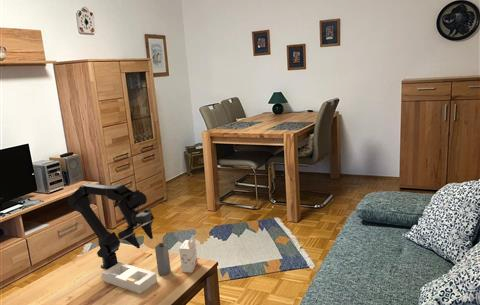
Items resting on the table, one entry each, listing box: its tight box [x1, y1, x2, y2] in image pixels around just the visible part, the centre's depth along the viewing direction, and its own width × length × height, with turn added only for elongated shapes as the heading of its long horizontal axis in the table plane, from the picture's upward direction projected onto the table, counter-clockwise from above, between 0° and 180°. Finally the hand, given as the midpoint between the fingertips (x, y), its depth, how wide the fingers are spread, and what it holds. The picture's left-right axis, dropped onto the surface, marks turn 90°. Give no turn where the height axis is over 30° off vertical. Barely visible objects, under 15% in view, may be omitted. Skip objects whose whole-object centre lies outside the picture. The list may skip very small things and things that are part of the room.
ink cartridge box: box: [178, 234, 198, 274], centre depth 175 cm, size 9×5×15 cm, turn 168°
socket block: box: [101, 261, 158, 294], centre depth 168 cm, size 22×10×4 cm, turn 59°
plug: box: [154, 242, 171, 276], centre depth 172 cm, size 4×4×14 cm
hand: (145, 243), depth 171 cm, fingers open, 9 cm apart
